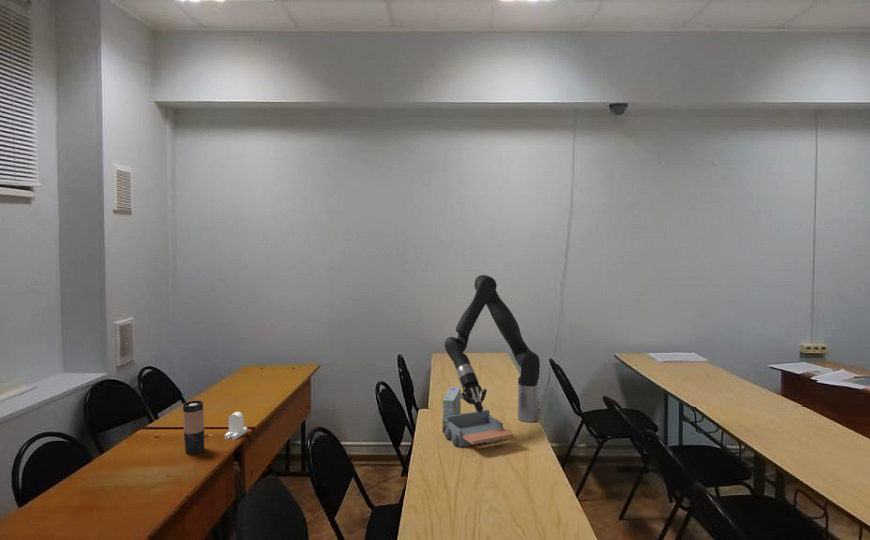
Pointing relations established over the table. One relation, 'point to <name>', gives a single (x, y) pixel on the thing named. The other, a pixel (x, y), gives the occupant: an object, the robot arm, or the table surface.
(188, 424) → the travel mug
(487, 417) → the trailer
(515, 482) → the table surface
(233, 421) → the cable organizer
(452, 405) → the snack box
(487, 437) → the tailgate
